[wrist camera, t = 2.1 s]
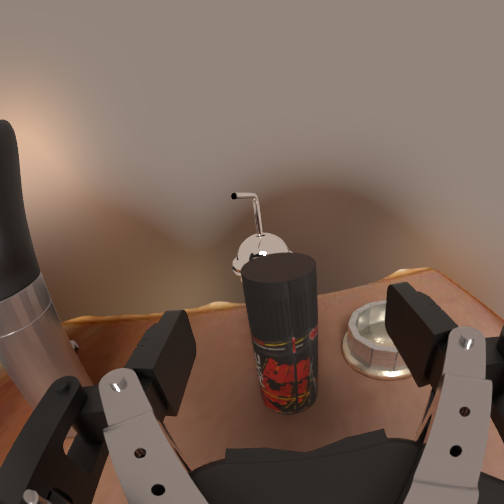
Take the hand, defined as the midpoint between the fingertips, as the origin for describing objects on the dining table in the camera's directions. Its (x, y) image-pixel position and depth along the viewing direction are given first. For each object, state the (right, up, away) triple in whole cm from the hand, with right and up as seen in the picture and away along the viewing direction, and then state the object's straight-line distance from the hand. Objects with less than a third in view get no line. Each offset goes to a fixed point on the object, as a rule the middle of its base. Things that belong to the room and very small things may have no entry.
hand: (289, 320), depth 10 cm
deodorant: (+3, -13, +16) cm, 21 cm away
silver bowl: (+16, -9, +20) cm, 27 cm away
